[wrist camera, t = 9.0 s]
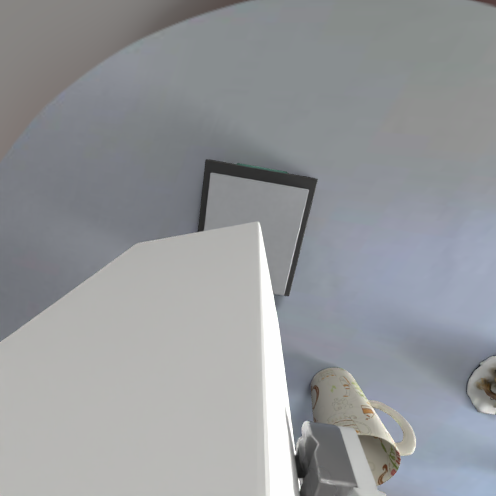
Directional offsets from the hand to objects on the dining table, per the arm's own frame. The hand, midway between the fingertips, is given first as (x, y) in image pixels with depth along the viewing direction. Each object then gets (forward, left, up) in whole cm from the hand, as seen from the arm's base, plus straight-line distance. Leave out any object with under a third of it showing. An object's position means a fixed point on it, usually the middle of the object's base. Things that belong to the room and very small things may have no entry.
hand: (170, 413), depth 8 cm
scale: (-1, +2, -23) cm, 23 cm away
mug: (+19, +19, -23) cm, 35 cm away
